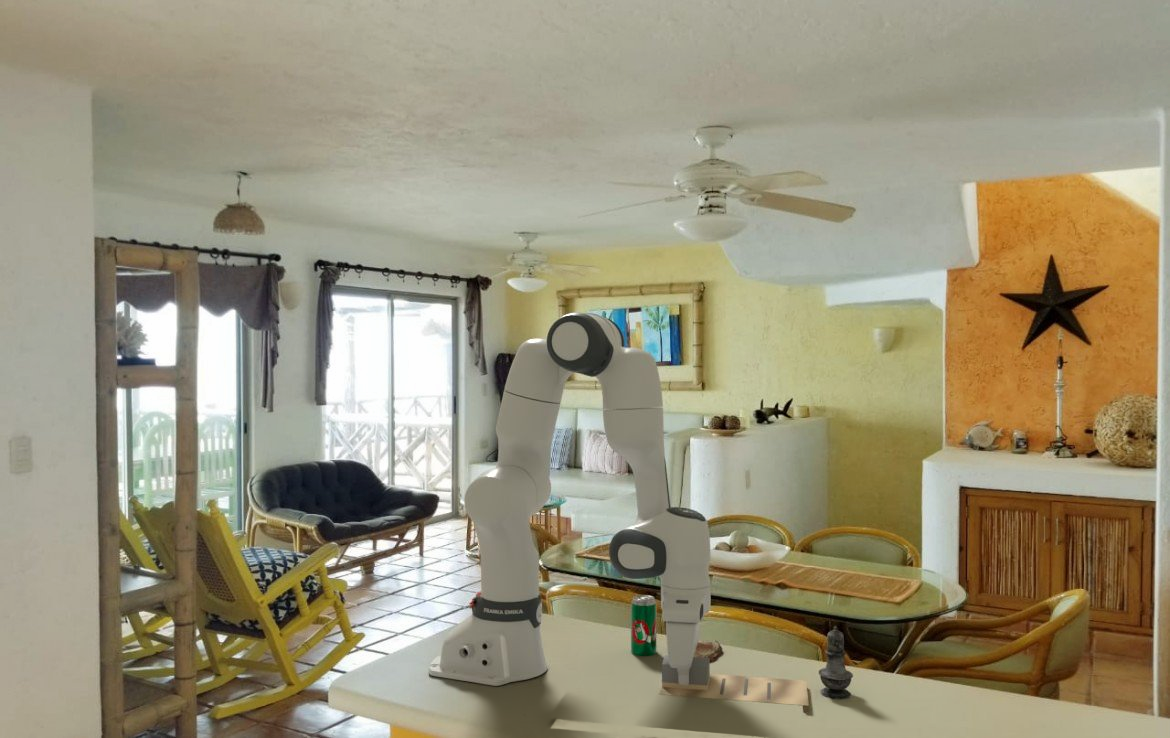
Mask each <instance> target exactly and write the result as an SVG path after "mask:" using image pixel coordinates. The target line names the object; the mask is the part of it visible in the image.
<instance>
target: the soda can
mask: <svg viewBox="0 0 1170 738" xmlns="http://www.w3.org/2000/svg"><path fill="white" fill-rule="evenodd" d="M630 653H631V654H632V655H633V656H638V657H651V656H654V655H656V654H657V601H656V600H655V597H654V596H653V595H648V594H640V595H638V594H637V595H635V596H633V597H632V600H631V602H630Z"/></svg>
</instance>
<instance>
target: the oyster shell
mask: <svg viewBox="0 0 1170 738" xmlns="http://www.w3.org/2000/svg"><path fill="white" fill-rule="evenodd" d="M722 654H723V647H722V646H721V644H720V642H719V641H718V640H716V639H715V640H713V641H704V640H703V641H702V640H701V641H698V644H697V647H696V650H695V654H694V657H699V658H710V663H713V662H715V661H717V659H718V658H719V657H720V656H721V655H722Z"/></svg>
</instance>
